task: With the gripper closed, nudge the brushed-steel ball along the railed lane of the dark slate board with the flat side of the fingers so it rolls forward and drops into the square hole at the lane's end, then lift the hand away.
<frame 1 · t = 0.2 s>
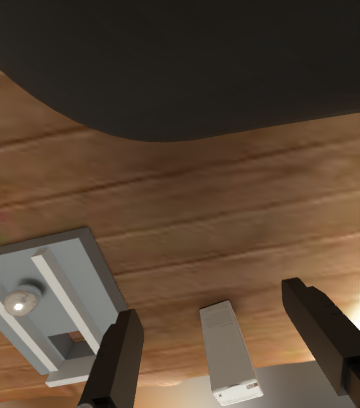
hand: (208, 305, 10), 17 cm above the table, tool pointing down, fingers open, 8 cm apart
slate board: (66, 303, 33), on the table
steel ball: (23, 299, 26), point 5 cm above the table, touching slate board
skincare box: (217, 309, 35), on the table
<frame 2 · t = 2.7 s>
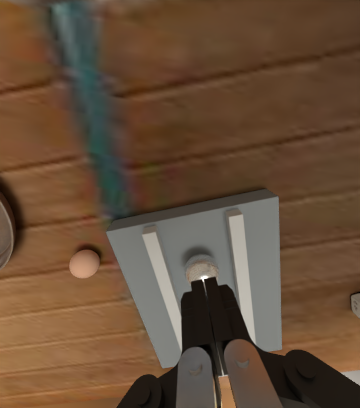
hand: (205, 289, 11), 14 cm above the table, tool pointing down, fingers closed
slate board: (205, 283, 29), on the table
terracotta ball: (85, 263, 25), point 2 cm above the table
steel ball: (201, 271, 21), point 5 cm above the table, touching slate board
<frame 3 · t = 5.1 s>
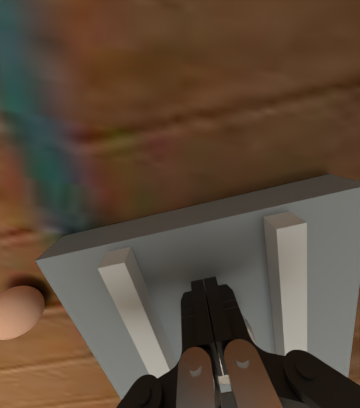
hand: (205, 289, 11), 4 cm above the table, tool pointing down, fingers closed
slate board: (219, 330, 18), on the table
terracotta ball: (15, 311, 14), point 2 cm above the table
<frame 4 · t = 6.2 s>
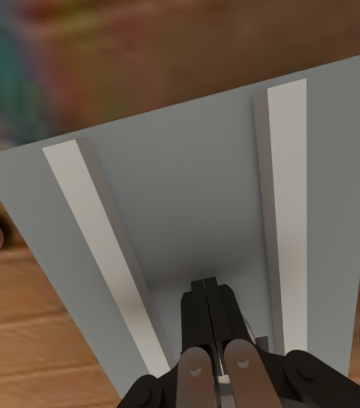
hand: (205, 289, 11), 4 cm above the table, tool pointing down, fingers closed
slate board: (208, 281, 16), on the table
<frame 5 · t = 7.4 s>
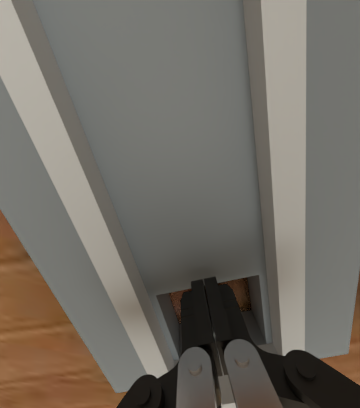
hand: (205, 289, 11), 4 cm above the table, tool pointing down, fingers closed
slate board: (191, 219, 14), on the table
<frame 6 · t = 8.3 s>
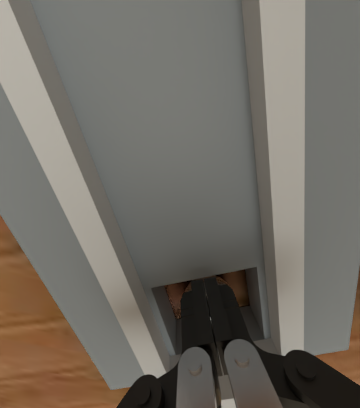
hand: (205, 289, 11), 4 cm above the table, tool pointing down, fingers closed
slate board: (188, 211, 14), on the table
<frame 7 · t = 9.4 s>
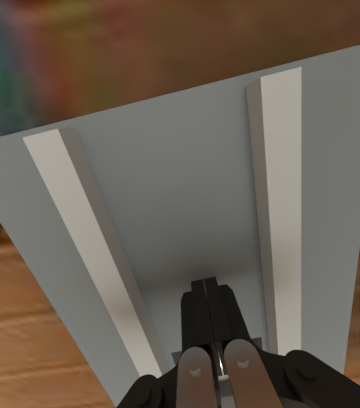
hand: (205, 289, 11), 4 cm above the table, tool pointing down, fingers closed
slate board: (201, 280, 16), on the table
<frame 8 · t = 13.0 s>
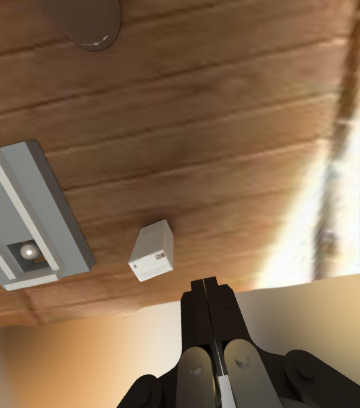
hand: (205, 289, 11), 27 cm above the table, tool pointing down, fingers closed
slate board: (24, 219, 38), on the table
steel ball: (32, 249, 39), point 2 cm above the table, tilted 24°
skincare box: (157, 229, 40), on the table
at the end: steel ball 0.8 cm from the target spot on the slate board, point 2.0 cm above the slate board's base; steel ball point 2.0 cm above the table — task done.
